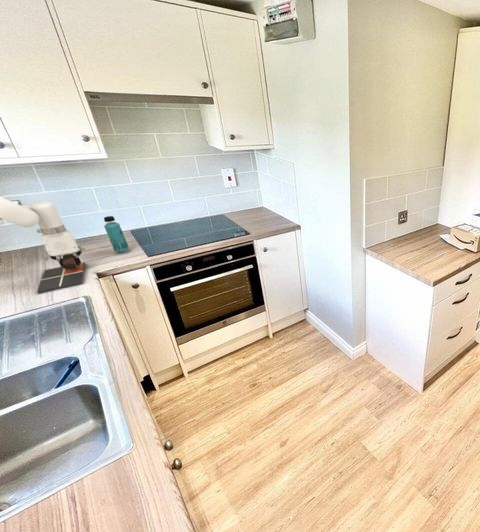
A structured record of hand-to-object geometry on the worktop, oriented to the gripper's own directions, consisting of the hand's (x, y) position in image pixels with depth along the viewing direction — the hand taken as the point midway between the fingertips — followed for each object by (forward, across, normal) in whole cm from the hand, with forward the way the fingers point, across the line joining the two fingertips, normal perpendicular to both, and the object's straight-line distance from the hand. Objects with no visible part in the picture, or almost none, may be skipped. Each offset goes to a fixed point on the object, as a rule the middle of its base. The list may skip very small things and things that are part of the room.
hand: (71, 265), depth 153 cm
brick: (+1, 0, 0) cm, 1 cm away
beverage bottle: (+3, +19, +13) cm, 23 cm away
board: (+3, -3, -6) cm, 7 cm away
